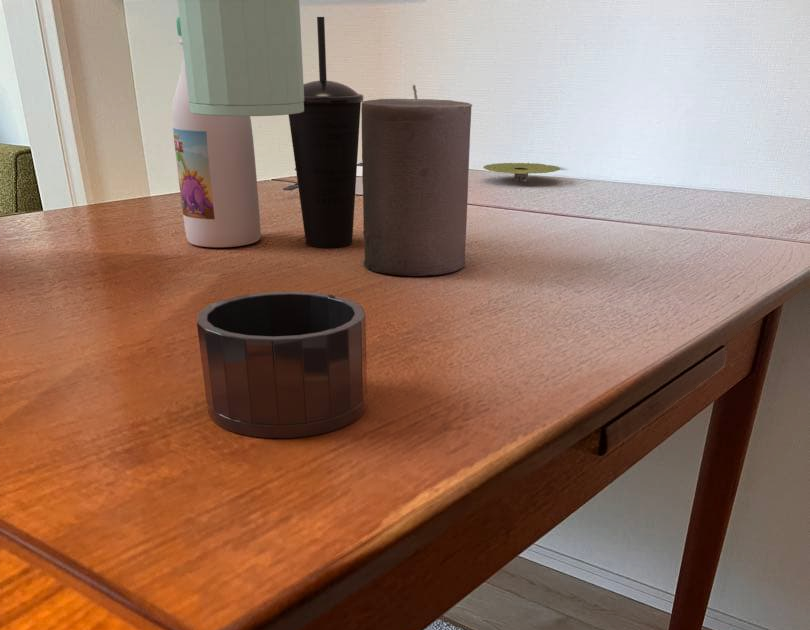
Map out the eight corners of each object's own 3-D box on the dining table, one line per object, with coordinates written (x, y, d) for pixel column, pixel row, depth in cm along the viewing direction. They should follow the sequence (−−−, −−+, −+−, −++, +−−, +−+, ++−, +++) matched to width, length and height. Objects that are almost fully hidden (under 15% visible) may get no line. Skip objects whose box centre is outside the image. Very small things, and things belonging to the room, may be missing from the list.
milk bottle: (254, 231, 92) (236, 17, 82) (267, 246, 86) (249, 15, 75) (183, 236, 90) (155, 16, 79) (190, 251, 84) (161, 15, 73)
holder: (185, 433, 46) (171, 334, 43) (236, 375, 54) (227, 288, 51) (350, 443, 45) (347, 343, 42) (378, 382, 53) (377, 294, 50)
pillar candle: (346, 271, 77) (340, 86, 69) (387, 249, 85) (386, 80, 77) (446, 281, 74) (452, 89, 66) (479, 258, 82) (488, 83, 74)
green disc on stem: (538, 189, 118) (540, 174, 117) (468, 182, 123) (469, 168, 122) (571, 180, 126) (572, 165, 125) (504, 173, 131) (505, 160, 130)
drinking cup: (348, 253, 83) (341, 16, 73) (279, 247, 85) (263, 15, 75) (377, 238, 89) (374, 17, 79) (312, 233, 92) (301, 17, 81)
